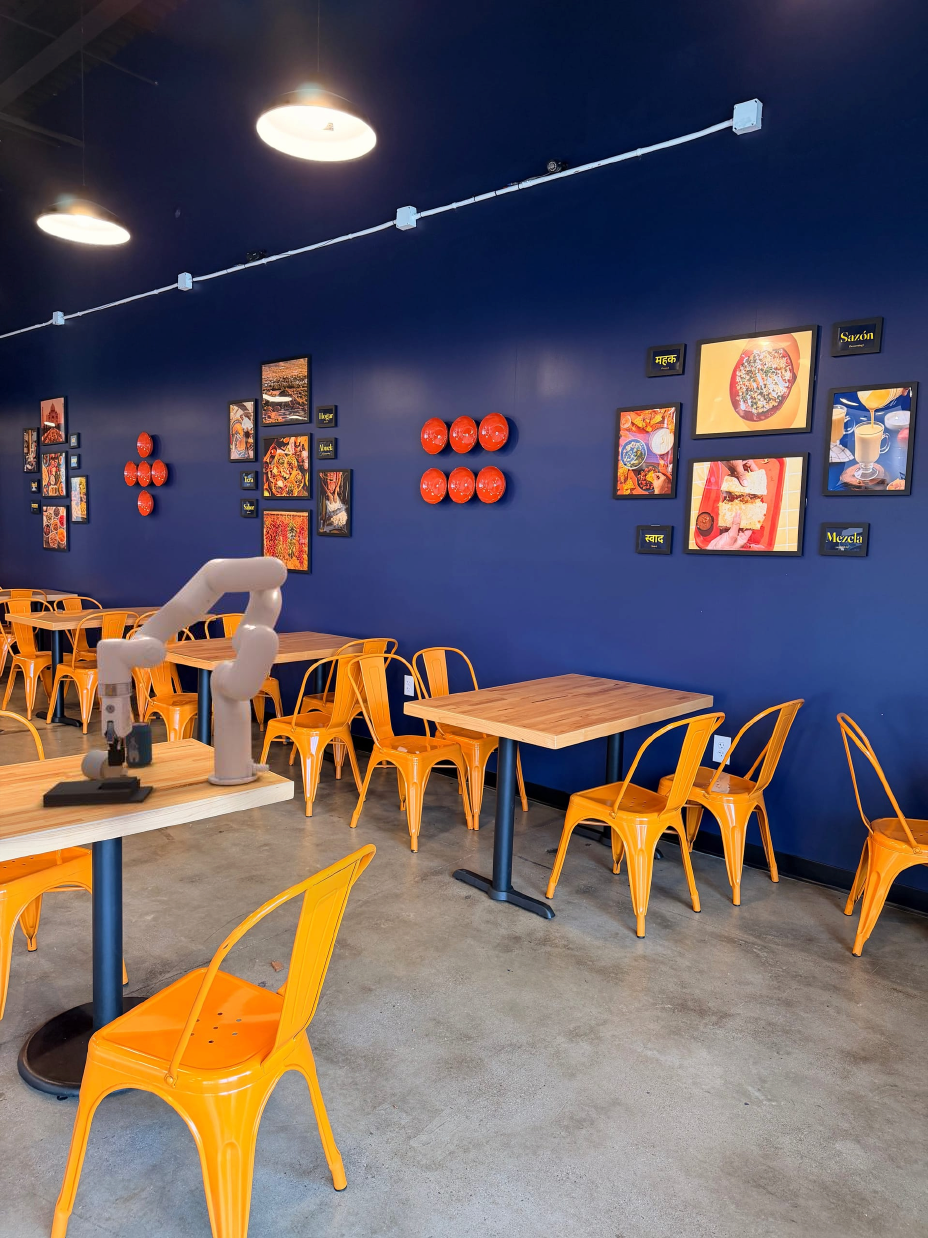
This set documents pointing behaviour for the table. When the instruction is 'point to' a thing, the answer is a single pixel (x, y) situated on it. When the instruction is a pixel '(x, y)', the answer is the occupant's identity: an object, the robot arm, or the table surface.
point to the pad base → (92, 794)
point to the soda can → (139, 745)
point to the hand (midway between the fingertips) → (116, 764)
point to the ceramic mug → (100, 766)
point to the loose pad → (120, 783)
